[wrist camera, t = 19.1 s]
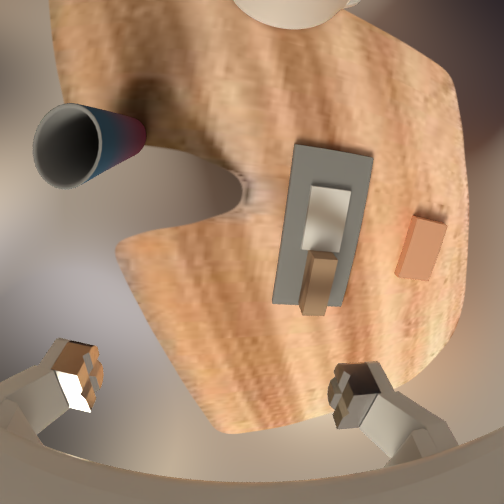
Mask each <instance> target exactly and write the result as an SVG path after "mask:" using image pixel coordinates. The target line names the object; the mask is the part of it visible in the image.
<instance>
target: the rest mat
mask: <svg viewBox="0 0 504 504" xmlns="http://www.w3.org/2000/svg"><path fill="white" fill-rule="evenodd" d="M372 164H373V158H372V157H367V156H362V155H357V154H352V153H347V152H341V151H335V150H330V149H324V148H317V147H311V146H304V145H297V144H294V150H293V158H292V166H291V173H290V181H289V188H288V196H287V203H286V210H285V217H284V224H283V231H282V238H281V245H280V251H279V258H278V265H277V271H276V278H275V284H274V290H273V297H272V304H287V305H299V304H298V301H299V296H300V291H301V286H302V280H303V275H304V270H305V265H306V259H307V254H308V250H302V249H301V244H302V238H303V232H304V226H305V220H306V214H307V207H308V201H309V194H310V188H311V185H313V186H321V187H328V188H335V189H342V190H349V191H351V195H350V201H349V206H348V212H347V217H346V222H345V227H344V232H343V237H342V242H341V246H340V251H339V252H332V253H333V254H334V255H335V257H336V258H337V260H338V263H337V267H336V271H335V276H334V280H333V284H332V288H331V292H330V296H329V300H328V304H327V306H339V307H341V305H342V301H343V298H344V294H345V290H346V287H347V283H348V279H349V275H350V271H351V267H352V263H353V259H354V255H355V250H356V246H357V242H358V237H359V233H360V228H361V223H362V218H363V214H364V209H365V204H366V198H367V193H368V188H369V182H370V176H371V170H372Z"/></svg>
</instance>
